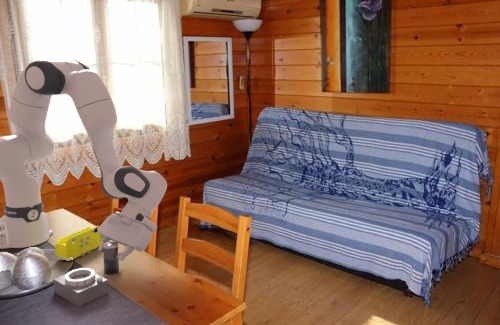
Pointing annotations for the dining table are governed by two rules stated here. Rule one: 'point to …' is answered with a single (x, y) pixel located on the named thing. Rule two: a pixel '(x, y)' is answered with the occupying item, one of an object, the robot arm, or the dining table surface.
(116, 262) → the dark grey peg
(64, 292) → the camera body
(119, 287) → the dining table surface
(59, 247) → the yellow toy chassis
